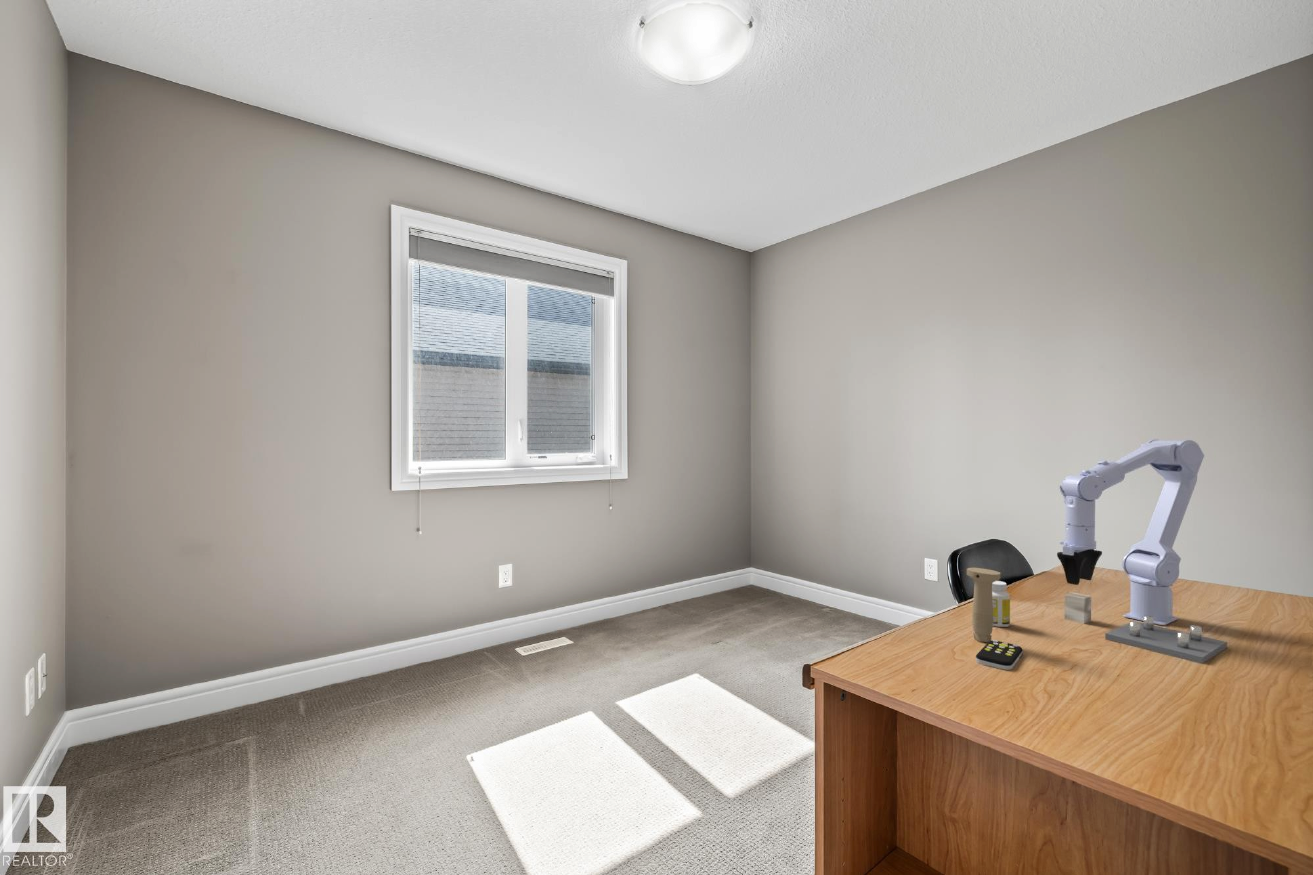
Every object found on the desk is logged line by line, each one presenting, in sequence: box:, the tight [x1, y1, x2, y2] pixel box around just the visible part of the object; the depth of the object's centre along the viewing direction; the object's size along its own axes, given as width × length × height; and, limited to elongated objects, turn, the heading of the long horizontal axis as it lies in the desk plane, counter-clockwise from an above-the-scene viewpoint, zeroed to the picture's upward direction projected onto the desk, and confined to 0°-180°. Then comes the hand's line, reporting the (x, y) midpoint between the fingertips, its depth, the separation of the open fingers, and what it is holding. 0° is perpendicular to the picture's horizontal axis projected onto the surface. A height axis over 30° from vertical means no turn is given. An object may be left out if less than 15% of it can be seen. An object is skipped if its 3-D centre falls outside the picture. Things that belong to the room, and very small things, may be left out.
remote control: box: [975, 639, 1024, 671], centre depth 116 cm, size 6×13×2 cm, turn 138°
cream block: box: [1064, 592, 1092, 625], centre depth 141 cm, size 4×4×6 cm
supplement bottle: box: [992, 580, 1011, 628], centre depth 137 cm, size 5×5×10 cm
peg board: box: [1104, 615, 1228, 664], centre depth 125 cm, size 16×16×4 cm
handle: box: [966, 567, 1001, 643], centre depth 126 cm, size 5×6×15 cm
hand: (1079, 581), depth 140 cm, fingers open, 7 cm apart
